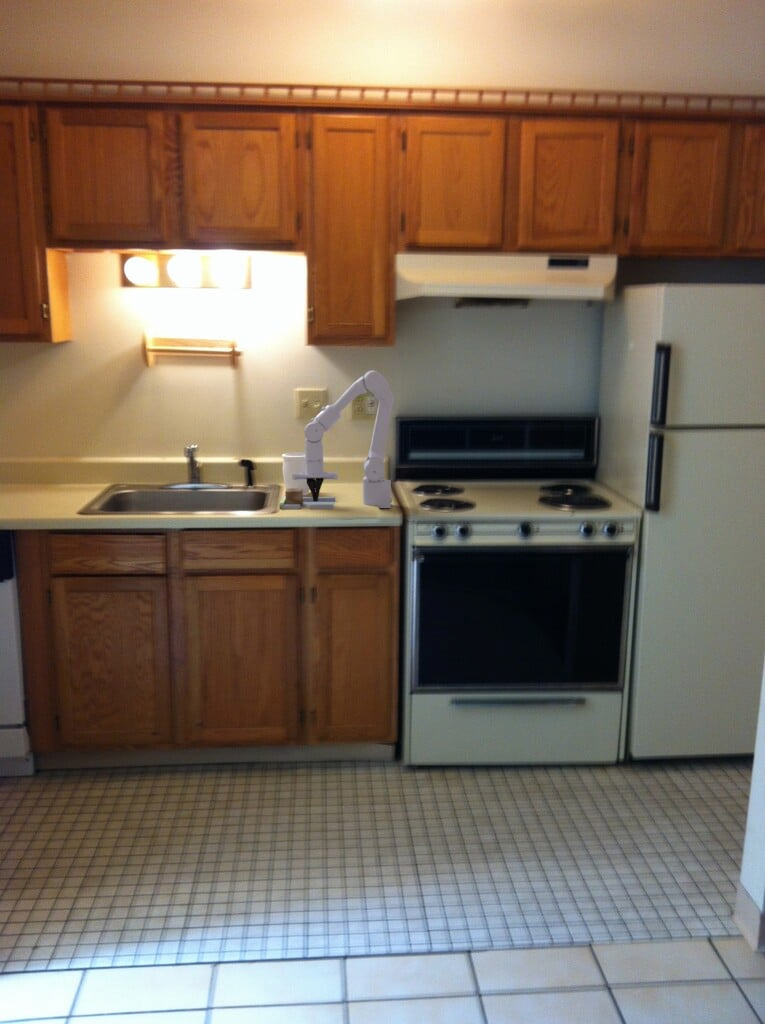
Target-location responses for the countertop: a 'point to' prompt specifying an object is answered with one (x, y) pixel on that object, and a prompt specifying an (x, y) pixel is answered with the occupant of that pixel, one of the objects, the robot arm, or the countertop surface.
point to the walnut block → (294, 496)
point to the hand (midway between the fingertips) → (315, 501)
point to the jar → (295, 470)
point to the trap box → (310, 503)
